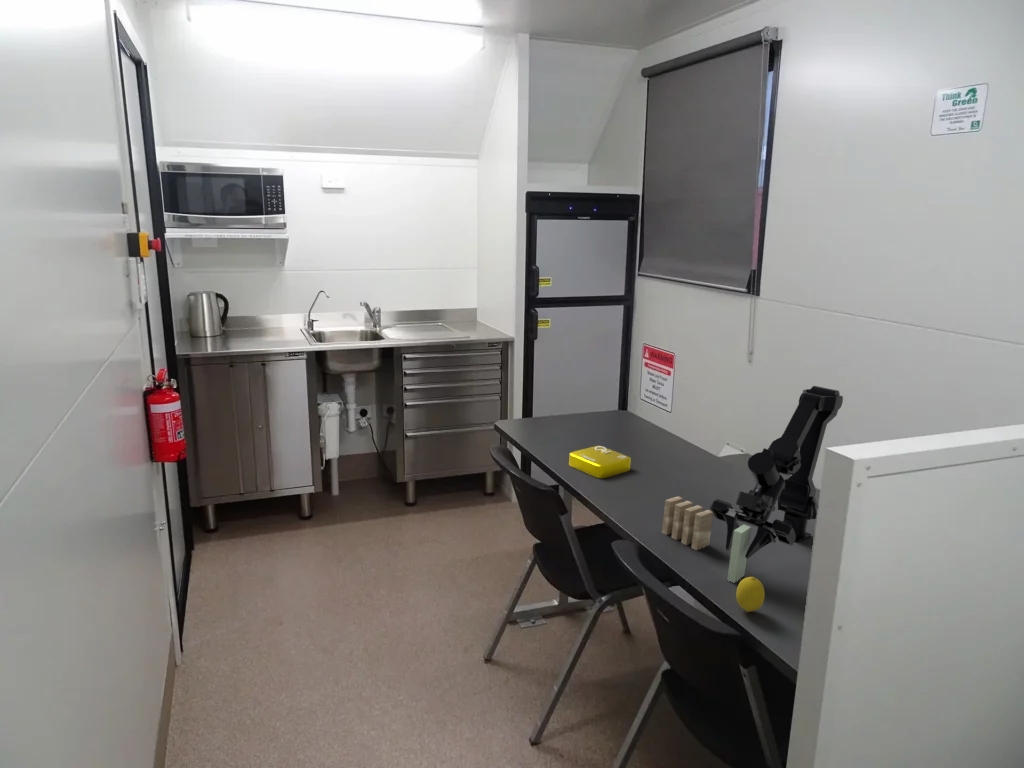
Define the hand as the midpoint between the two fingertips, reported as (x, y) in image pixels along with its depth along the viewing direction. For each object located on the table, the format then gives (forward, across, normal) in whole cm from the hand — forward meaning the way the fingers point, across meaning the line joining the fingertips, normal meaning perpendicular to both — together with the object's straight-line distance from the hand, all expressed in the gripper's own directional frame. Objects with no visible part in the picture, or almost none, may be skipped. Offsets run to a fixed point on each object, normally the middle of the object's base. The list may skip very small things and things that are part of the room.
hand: (736, 553), depth 158 cm
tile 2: (-2, -16, +12) cm, 20 cm away
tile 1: (-2, -13, +11) cm, 18 cm away
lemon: (+12, +8, -2) cm, 14 cm away
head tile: (+4, 0, +6) cm, 7 cm away
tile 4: (-3, -23, +12) cm, 26 cm away
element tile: (-19, -63, +29) cm, 72 cm away
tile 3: (-3, -20, +12) cm, 23 cm away
